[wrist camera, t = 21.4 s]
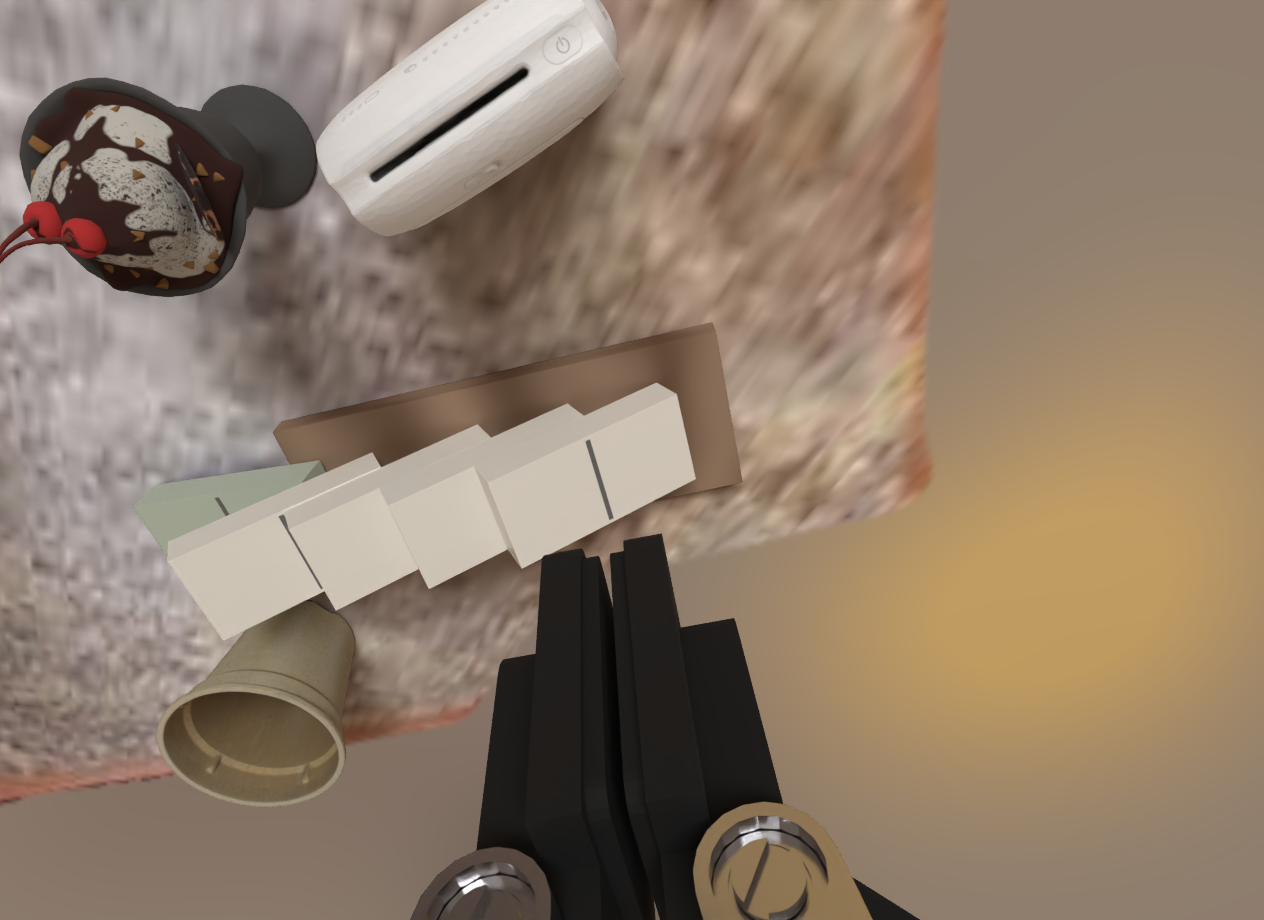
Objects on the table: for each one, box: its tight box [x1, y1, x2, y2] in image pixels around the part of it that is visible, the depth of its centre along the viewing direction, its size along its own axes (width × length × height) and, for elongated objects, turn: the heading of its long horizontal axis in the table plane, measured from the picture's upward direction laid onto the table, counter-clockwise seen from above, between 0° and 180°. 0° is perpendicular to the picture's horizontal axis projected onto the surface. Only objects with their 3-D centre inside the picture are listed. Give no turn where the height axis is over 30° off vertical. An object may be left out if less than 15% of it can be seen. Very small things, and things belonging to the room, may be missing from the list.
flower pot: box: [156, 601, 355, 807], centre depth 43 cm, size 9×9×9 cm
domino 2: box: [284, 424, 491, 610], centre depth 37 cm, size 2×5×10 cm
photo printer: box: [316, 0, 624, 237], centre depth 26 cm, size 10×4×12 cm, turn 121°
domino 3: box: [379, 403, 584, 589], centre depth 37 cm, size 2×5×10 cm
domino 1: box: [168, 453, 381, 641], centre depth 37 cm, size 2×5×10 cm
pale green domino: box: [133, 460, 326, 557], centre depth 40 cm, size 2×5×10 cm
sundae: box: [0, 78, 316, 297], centre depth 26 cm, size 7×7×15 cm
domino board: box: [273, 323, 742, 502], centre depth 40 cm, size 23×9×1 cm, turn 103°
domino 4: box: [474, 383, 696, 569], centre depth 37 cm, size 2×5×10 cm
